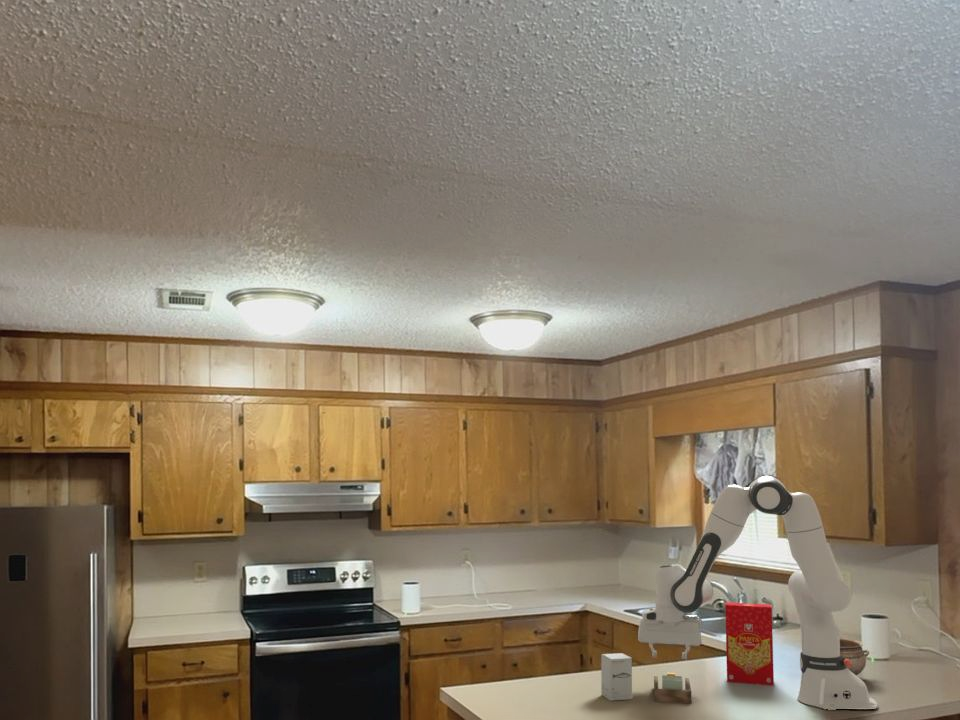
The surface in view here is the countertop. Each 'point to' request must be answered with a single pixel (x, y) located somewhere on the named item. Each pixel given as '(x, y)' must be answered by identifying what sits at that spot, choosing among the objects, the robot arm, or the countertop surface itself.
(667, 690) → the lane
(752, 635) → the food packaging
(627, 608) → the countertop surface
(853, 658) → the cooking pot
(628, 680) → the supplement box
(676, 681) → the block
